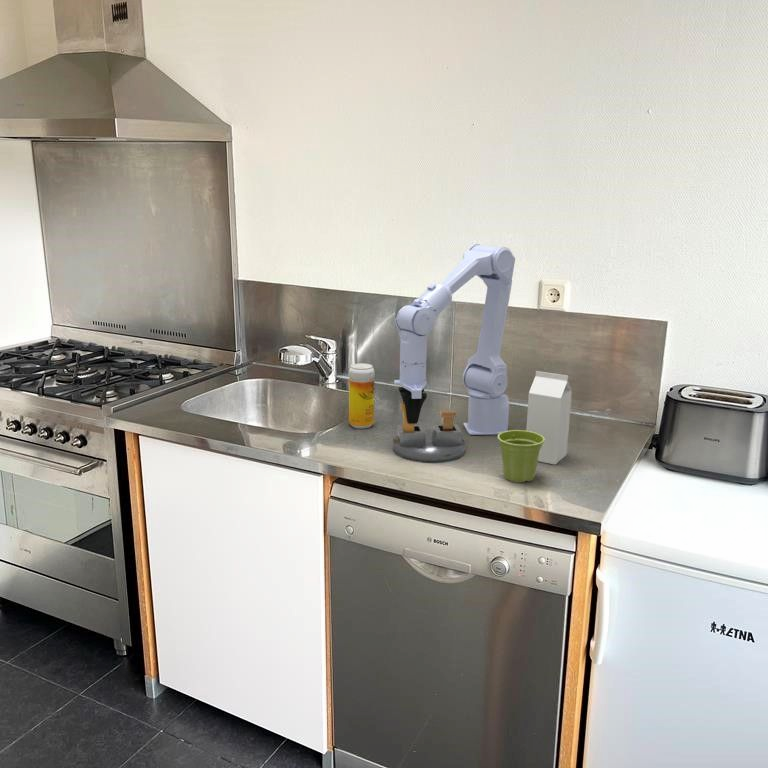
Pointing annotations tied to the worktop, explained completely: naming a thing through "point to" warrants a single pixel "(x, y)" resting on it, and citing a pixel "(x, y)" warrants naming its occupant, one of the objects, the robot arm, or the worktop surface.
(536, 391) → the milk carton
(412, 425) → the wedge pin
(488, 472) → the worktop surface
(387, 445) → the worktop surface
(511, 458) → the plant pot
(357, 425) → the beer can
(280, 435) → the worktop surface
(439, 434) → the two socket peg base
